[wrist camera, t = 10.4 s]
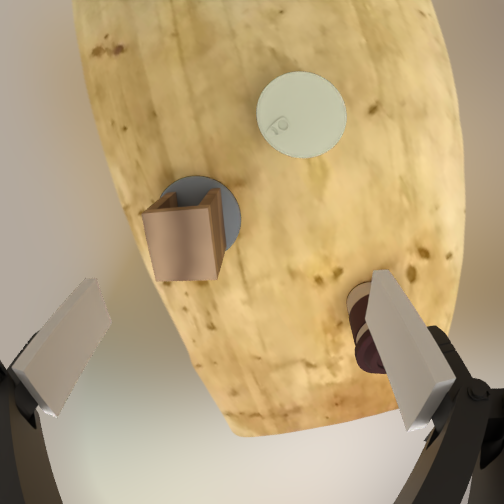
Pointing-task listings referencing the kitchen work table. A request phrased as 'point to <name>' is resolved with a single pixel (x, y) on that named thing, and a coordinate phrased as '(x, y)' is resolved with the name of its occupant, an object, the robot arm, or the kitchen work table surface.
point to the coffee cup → (363, 330)
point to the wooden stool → (186, 238)
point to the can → (301, 114)
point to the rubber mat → (196, 189)
